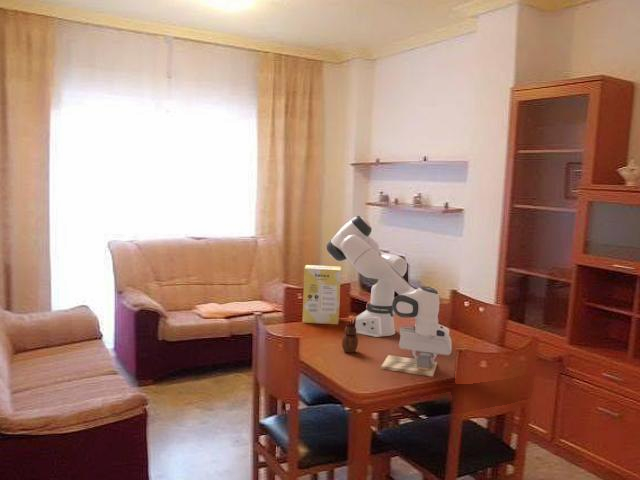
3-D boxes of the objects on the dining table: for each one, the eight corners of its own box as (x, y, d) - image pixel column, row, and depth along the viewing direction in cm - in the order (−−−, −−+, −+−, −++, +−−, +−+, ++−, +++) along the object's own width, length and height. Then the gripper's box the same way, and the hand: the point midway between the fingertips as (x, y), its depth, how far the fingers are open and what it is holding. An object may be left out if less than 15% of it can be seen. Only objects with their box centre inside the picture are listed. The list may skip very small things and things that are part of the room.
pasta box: (338, 319, 282) (340, 266, 278) (338, 324, 271) (340, 270, 268) (304, 317, 283) (306, 264, 280) (302, 322, 272) (304, 268, 269)
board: (381, 368, 210) (381, 365, 209) (388, 357, 223) (388, 355, 223) (432, 376, 203) (433, 373, 203) (436, 364, 217) (437, 362, 216)
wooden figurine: (358, 350, 231) (360, 316, 229) (355, 354, 225) (357, 320, 223) (343, 348, 233) (345, 315, 231) (340, 352, 227) (341, 318, 226)
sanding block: (416, 368, 208) (417, 358, 207) (419, 361, 215) (420, 352, 215) (428, 370, 206) (428, 360, 206) (430, 363, 214) (431, 353, 214)
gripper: (398, 326, 210) (396, 361, 211) (451, 333, 203) (449, 368, 205) (401, 323, 215) (399, 356, 217) (453, 329, 209) (450, 363, 211)
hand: (424, 362), depth 211 cm, fingers closed on sanding block, 4 cm apart
